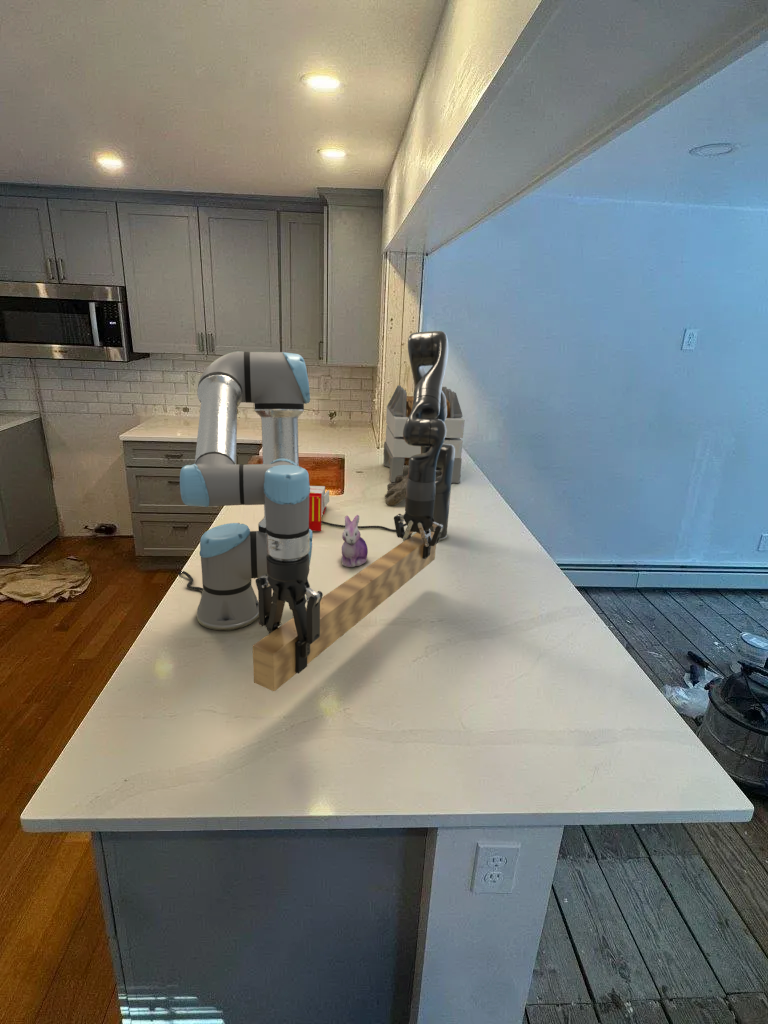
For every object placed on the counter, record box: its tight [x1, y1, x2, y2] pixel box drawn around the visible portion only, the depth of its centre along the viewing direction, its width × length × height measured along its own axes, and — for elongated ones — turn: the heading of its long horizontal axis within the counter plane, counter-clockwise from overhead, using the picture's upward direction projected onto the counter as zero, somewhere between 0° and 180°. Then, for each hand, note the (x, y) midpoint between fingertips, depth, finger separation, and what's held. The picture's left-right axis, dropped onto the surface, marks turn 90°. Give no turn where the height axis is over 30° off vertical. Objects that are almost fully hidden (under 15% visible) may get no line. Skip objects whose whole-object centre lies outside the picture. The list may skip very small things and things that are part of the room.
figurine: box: [340, 514, 369, 568], centre depth 174 cm, size 9×10×15 cm
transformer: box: [383, 384, 465, 484], centre depth 268 cm, size 34×33×41 cm
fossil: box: [384, 474, 408, 506], centre depth 235 cm, size 22×10×15 cm
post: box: [252, 532, 437, 692], centre depth 129 cm, size 69×5×8 cm, turn 151°
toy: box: [309, 485, 330, 532], centre depth 209 cm, size 12×13×30 cm
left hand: (289, 664), depth 108 cm, fingers closed on post, 5 cm apart
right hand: (416, 555), depth 152 cm, fingers closed on post, 4 cm apart
